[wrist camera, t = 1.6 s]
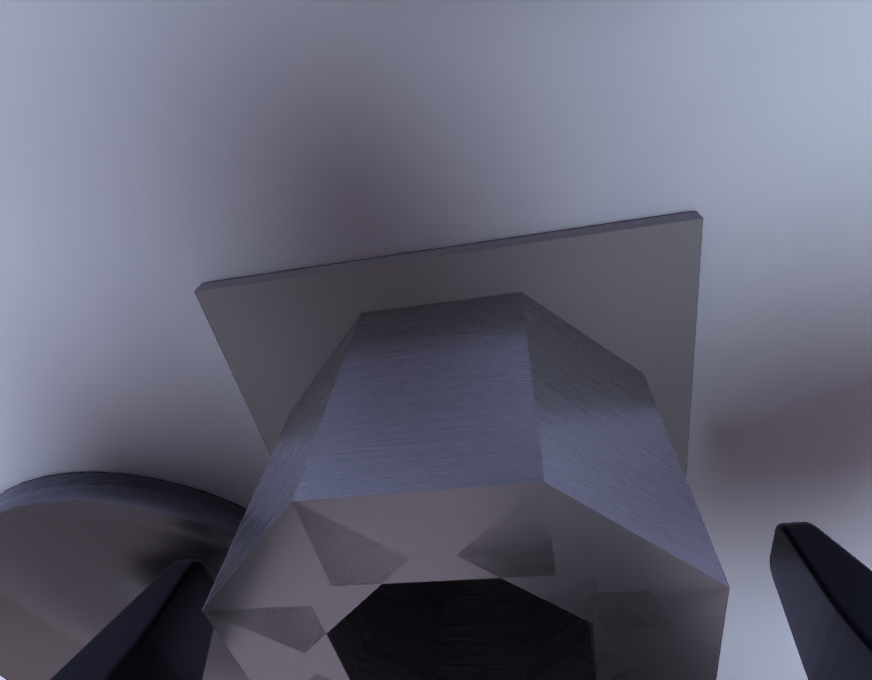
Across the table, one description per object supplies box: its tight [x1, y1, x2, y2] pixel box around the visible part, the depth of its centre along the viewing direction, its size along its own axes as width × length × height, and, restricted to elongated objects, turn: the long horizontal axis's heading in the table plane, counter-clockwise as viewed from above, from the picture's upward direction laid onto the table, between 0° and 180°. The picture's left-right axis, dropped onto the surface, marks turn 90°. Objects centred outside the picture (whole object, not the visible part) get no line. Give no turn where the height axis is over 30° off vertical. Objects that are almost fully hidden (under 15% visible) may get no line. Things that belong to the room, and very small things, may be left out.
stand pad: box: [195, 211, 703, 478], centre depth 11 cm, size 8×8×1 cm
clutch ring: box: [202, 292, 729, 680], centre depth 9 cm, size 6×6×4 cm
